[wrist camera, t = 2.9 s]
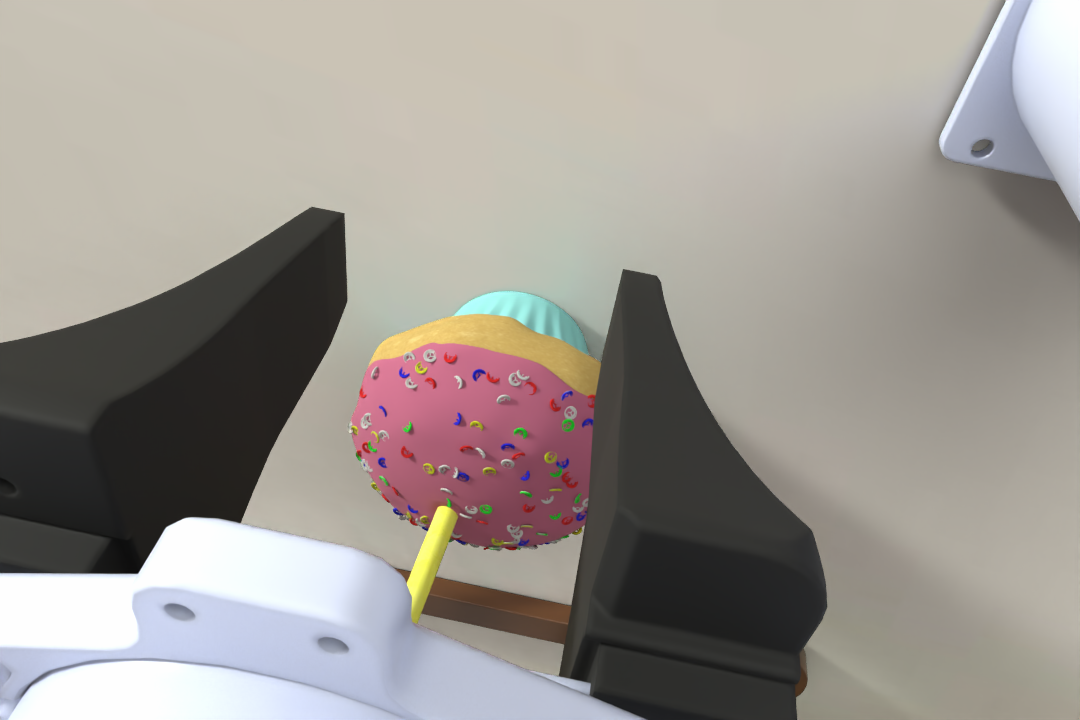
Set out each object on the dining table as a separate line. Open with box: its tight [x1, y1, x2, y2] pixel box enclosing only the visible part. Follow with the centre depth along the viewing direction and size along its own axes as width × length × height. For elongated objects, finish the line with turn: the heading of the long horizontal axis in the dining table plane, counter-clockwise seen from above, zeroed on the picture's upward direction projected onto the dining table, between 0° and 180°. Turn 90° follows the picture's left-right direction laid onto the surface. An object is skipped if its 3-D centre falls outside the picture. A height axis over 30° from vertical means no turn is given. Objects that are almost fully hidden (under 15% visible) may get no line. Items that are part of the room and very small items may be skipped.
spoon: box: [394, 568, 807, 697], centre depth 39 cm, size 22×5×1 cm, turn 83°
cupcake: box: [348, 291, 601, 624], centre depth 25 cm, size 9×8×12 cm
